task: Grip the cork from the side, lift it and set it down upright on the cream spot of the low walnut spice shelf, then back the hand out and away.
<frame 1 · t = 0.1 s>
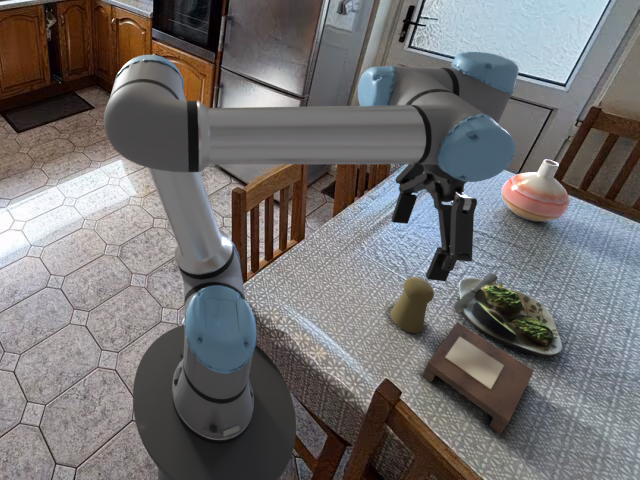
hand: (415, 248, 74), 25 cm above the table, tool pointing down, fingers open, 13 cm apart
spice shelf: (473, 379, 78), on the table
cork: (405, 320, 89), on the table
salad plate: (501, 318, 89), on the table
vase: (525, 214, 118), on the table
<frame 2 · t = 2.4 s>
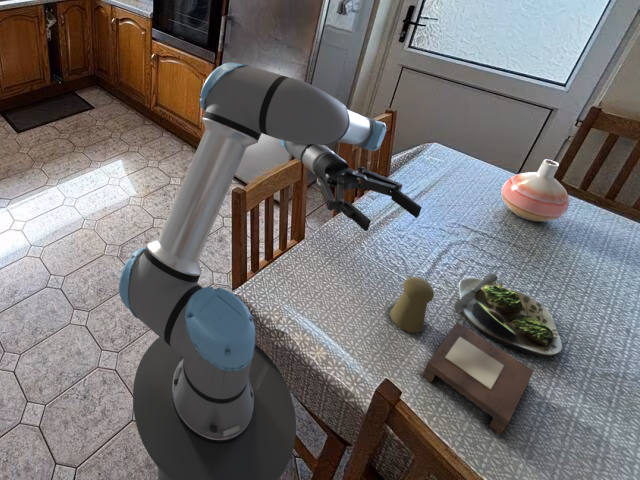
hand: (394, 219, 88), 20 cm above the table, tool horizontal, fingers open, 13 cm apart
nothing on the table moved.
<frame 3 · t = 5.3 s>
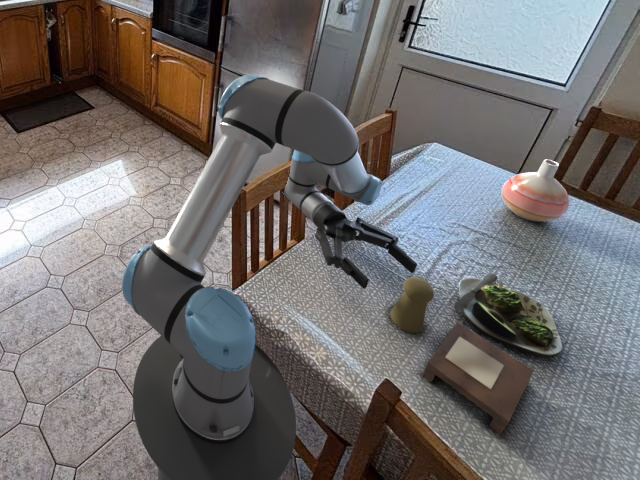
hand: (391, 276, 91), 7 cm above the table, tool horizontal, fingers open, 13 cm apart
nothing on the table moved.
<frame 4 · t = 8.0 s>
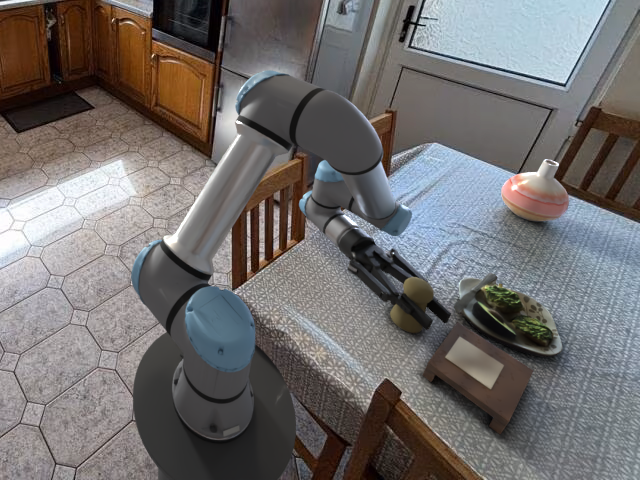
hand: (438, 321, 82), 6 cm above the table, tool horizontal, fingers closed on cork, 4 cm apart
cork: (405, 320, 89), on the table, touching gripper
everything else where it was.
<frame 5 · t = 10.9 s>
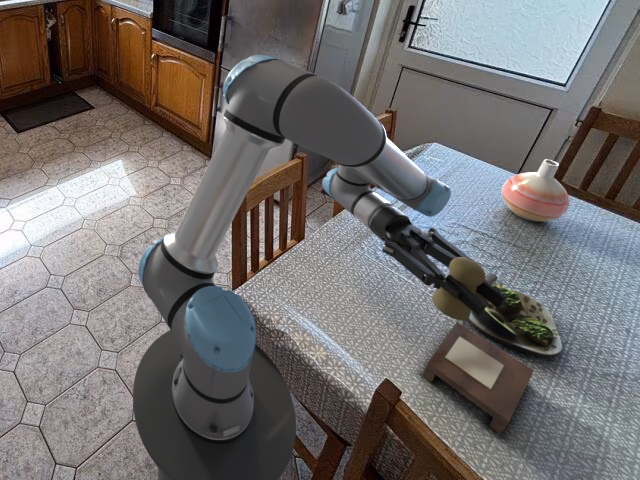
hand: (492, 306, 72), 18 cm above the table, tool horizontal, fingers closed on cork, 4 cm apart
cork: (450, 306, 79), point 11 cm above the table, touching gripper
everything else where it was.
when the fingers open (11 cm above the table, at t = 14.1 s): cork stays where it is, resting on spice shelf.
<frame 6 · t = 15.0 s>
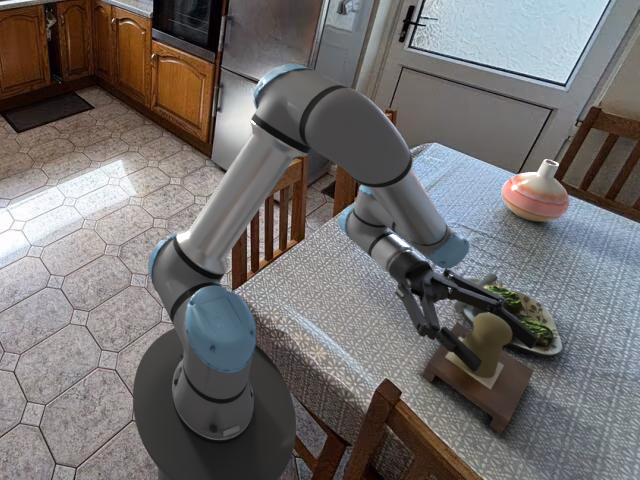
hand: (507, 355, 71), 11 cm above the table, tool horizontal, fingers open, 13 cm apart
cork: (474, 361, 77), point 4 cm above the table, touching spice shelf
everything else where it was.
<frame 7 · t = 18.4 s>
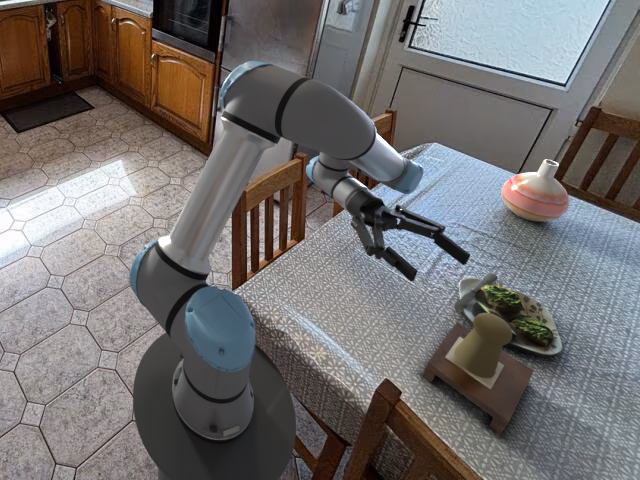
hand: (441, 268, 81), 16 cm above the table, tool horizontal, fingers open, 13 cm apart
nothing on the table moved.
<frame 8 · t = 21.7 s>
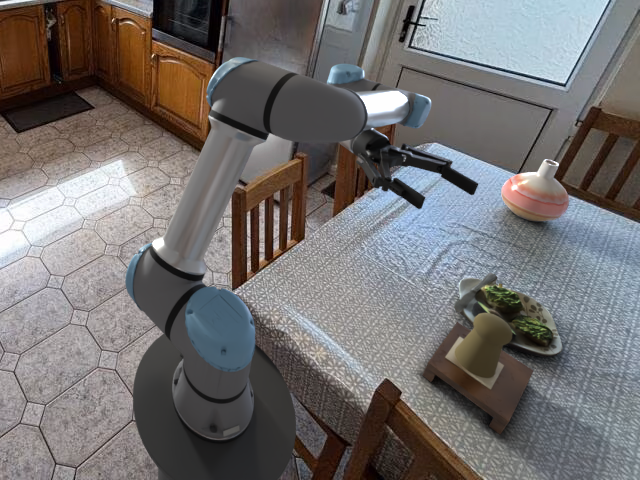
hand: (449, 196, 80), 30 cm above the table, tool horizontal, fingers open, 13 cm apart
nothing on the table moved.
at the end: cork inside the target area on the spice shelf (0.0 cm from its centre), point 4.0 cm above the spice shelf's base; cork tilted 0°; the gripper is holding nothing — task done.
